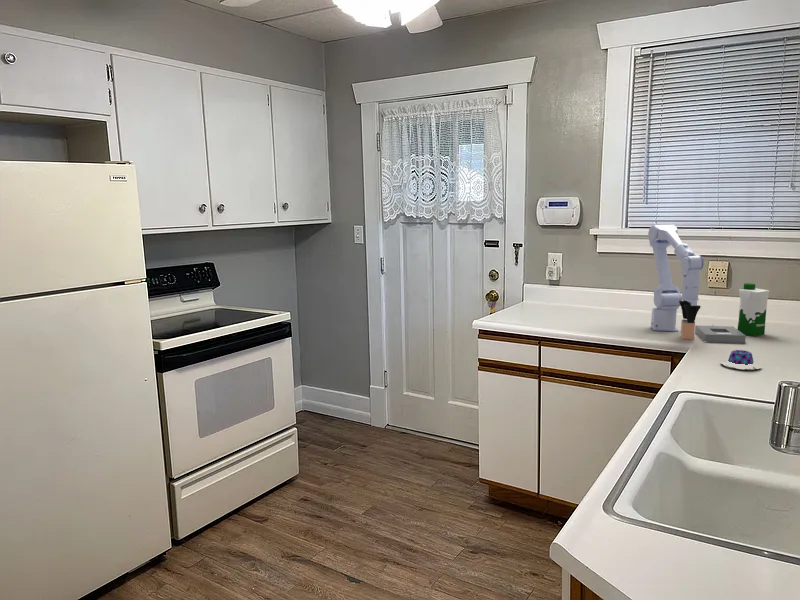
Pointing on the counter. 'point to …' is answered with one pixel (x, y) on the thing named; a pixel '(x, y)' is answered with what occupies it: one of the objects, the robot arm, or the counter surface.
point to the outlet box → (720, 334)
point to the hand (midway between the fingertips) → (688, 320)
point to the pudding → (741, 357)
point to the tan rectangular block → (687, 329)
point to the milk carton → (752, 310)
